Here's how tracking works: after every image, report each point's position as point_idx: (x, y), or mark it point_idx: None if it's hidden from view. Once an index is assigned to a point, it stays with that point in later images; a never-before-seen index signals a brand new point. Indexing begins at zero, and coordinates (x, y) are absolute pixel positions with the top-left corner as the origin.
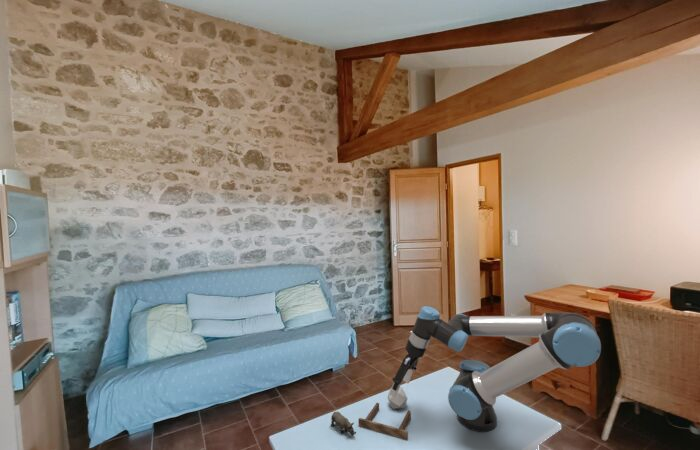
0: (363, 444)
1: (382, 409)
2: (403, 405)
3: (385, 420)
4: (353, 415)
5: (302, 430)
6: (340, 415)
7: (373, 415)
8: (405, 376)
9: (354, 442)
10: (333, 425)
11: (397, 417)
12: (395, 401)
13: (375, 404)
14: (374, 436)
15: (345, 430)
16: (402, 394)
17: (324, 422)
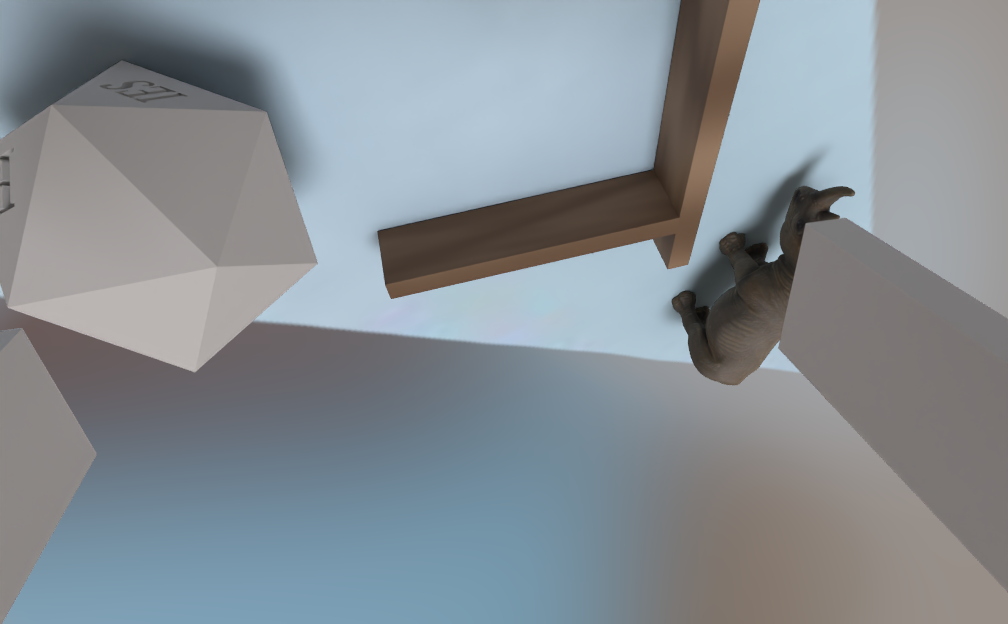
0: (873, 78)
1: (348, 217)
2: (143, 85)
3: (492, 107)
4: (554, 302)
5: (766, 360)
6: (763, 350)
7: (526, 219)
8: (14, 534)
9: (849, 141)
10: (704, 311)
11: (362, 30)
12: (279, 193)
13: (427, 290)
14: (760, 61)
15: (743, 248)
16: (126, 209)
17: (681, 347)
